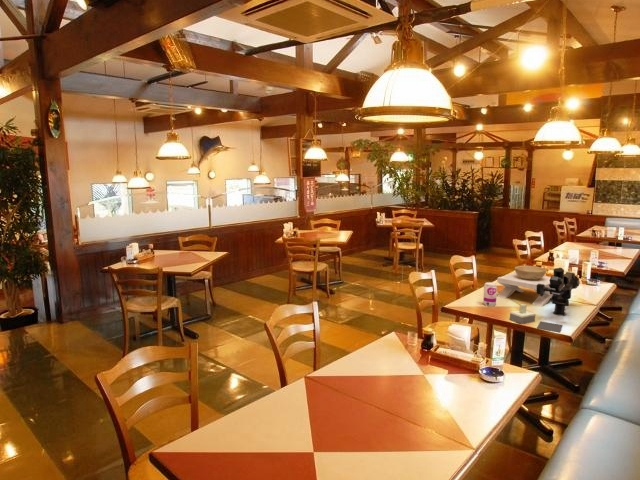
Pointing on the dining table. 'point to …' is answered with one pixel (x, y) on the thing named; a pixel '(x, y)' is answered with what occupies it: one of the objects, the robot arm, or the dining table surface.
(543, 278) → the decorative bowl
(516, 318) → the storage box
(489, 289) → the supplement can
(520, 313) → the lid
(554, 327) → the rubber mat
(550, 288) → the robot arm
